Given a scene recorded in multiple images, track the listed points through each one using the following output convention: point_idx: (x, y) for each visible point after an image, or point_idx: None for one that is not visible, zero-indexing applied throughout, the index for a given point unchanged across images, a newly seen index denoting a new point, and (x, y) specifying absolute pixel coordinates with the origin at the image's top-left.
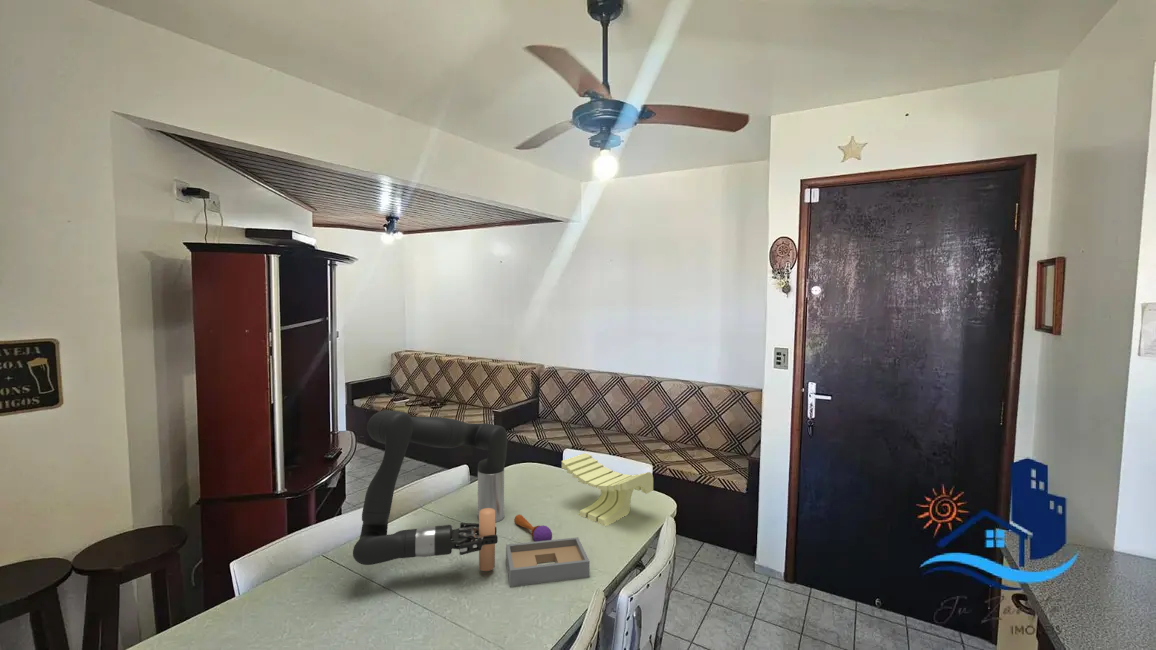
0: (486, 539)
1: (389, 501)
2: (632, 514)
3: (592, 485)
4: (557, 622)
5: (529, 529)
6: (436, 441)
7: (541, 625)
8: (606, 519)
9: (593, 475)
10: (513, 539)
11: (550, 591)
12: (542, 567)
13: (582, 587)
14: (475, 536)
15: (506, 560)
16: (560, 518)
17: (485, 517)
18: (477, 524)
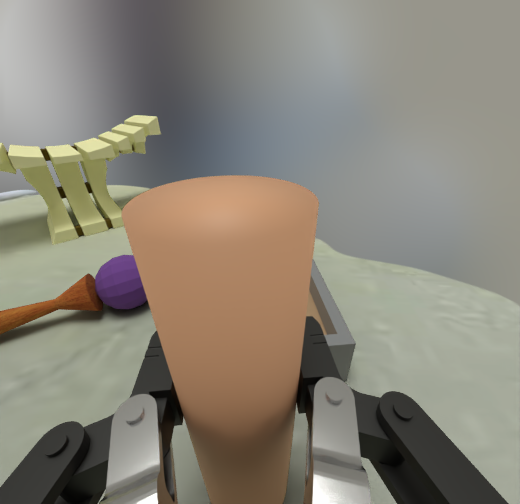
0: (335, 364)
1: None
2: (121, 203)
3: (69, 159)
4: (451, 290)
5: (43, 315)
6: None
7: (480, 313)
8: None
9: (29, 152)
10: (40, 373)
11: (347, 295)
12: (320, 274)
13: (325, 256)
14: (334, 458)
15: None
16: (36, 266)
17: (315, 231)
18: (51, 458)
